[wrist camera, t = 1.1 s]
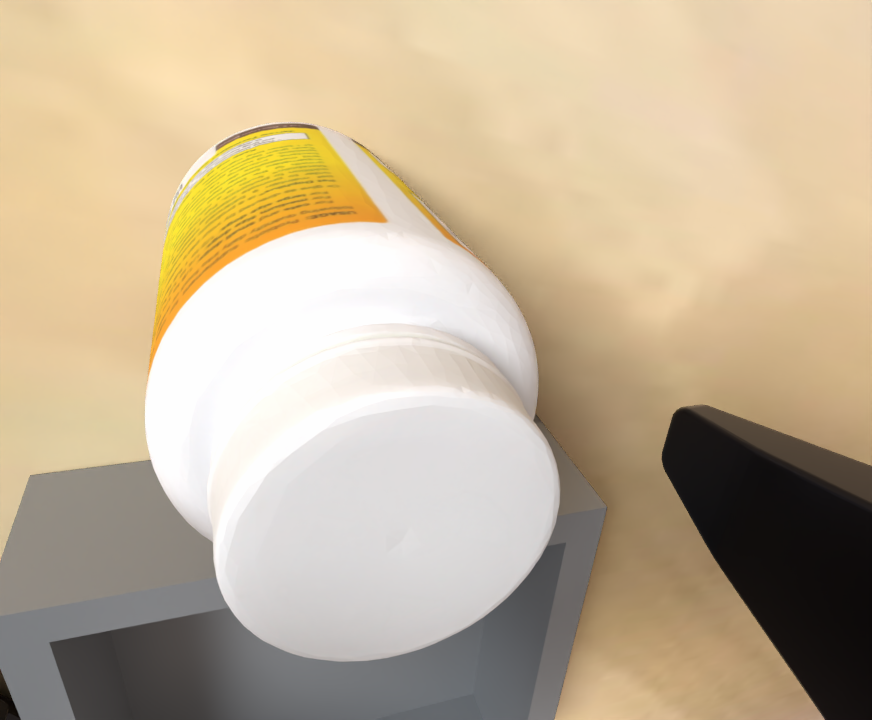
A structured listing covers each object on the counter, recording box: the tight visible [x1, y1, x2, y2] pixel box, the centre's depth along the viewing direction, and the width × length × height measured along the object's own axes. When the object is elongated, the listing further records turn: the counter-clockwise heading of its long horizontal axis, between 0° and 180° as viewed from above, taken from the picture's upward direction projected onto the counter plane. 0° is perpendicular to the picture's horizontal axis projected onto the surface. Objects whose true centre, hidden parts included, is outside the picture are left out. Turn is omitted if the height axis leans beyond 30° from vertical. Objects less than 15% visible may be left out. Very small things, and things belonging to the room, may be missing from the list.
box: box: [0, 414, 607, 720], centre depth 20 cm, size 14×14×4 cm
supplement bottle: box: [145, 122, 560, 662], centre depth 11 cm, size 6×6×10 cm
